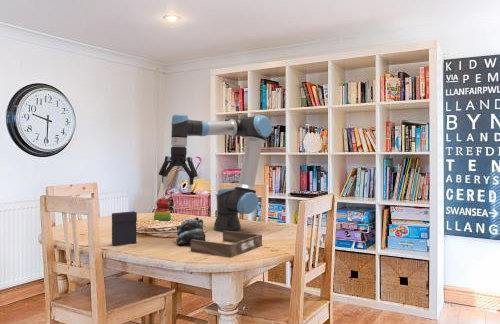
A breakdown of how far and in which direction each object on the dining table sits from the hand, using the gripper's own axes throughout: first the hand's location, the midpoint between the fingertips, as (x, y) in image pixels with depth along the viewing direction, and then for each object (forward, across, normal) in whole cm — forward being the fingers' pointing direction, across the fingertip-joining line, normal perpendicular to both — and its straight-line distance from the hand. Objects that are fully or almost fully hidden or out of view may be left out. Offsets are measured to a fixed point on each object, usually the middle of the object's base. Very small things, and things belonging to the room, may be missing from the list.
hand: (177, 190), depth 211 cm
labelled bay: (+24, +27, 0) cm, 37 cm away
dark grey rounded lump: (+25, +7, +2) cm, 26 cm away
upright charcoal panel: (+26, -21, -12) cm, 35 cm away
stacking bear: (+25, -25, +27) cm, 45 cm away
